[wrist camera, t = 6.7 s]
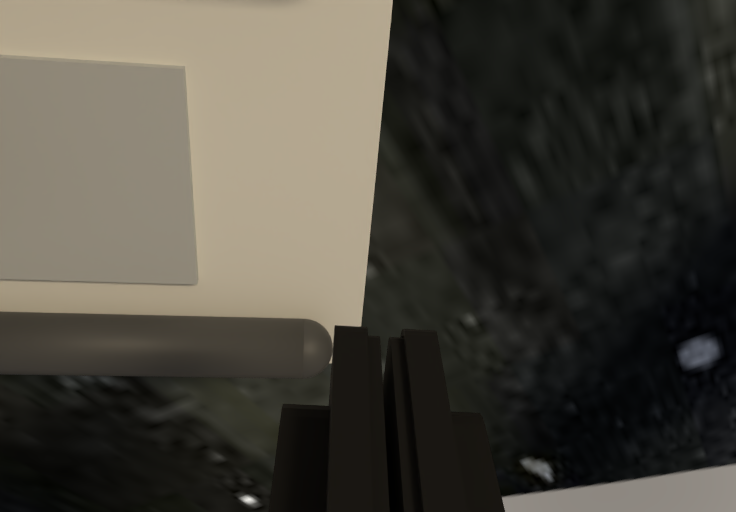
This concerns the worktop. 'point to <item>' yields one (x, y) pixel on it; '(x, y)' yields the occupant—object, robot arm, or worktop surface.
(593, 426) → the worktop surface
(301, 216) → the breaker box
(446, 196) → the worktop surface
